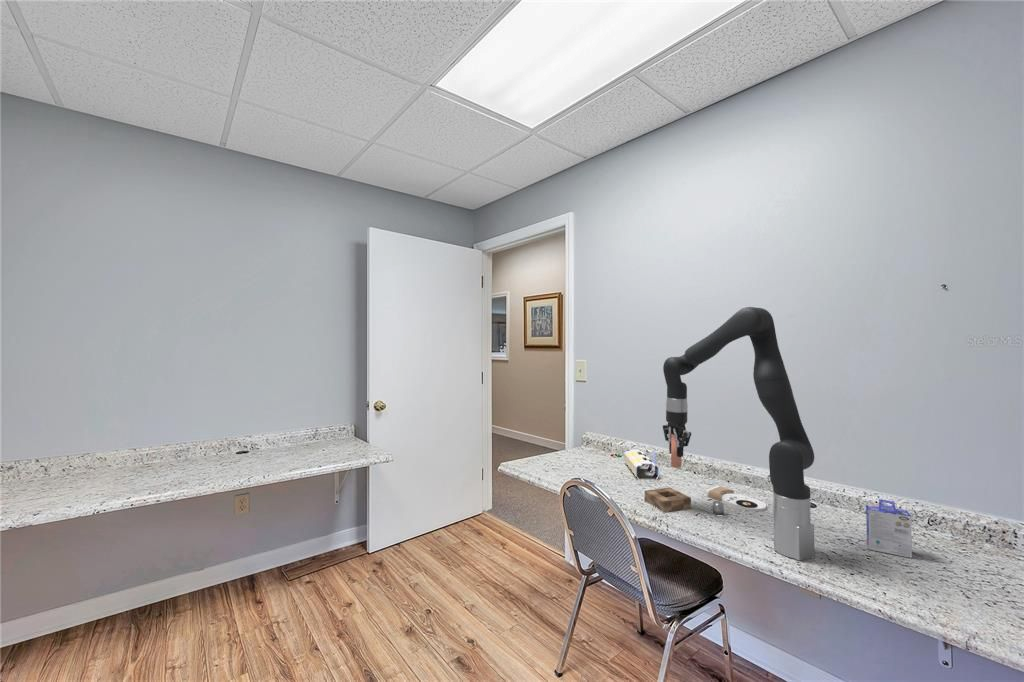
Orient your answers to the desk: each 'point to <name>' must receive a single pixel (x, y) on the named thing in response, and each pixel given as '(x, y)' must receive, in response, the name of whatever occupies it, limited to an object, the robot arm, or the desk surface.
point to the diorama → (640, 461)
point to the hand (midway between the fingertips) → (676, 454)
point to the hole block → (667, 499)
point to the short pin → (718, 508)
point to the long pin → (674, 453)
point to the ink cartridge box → (889, 529)
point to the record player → (735, 499)
